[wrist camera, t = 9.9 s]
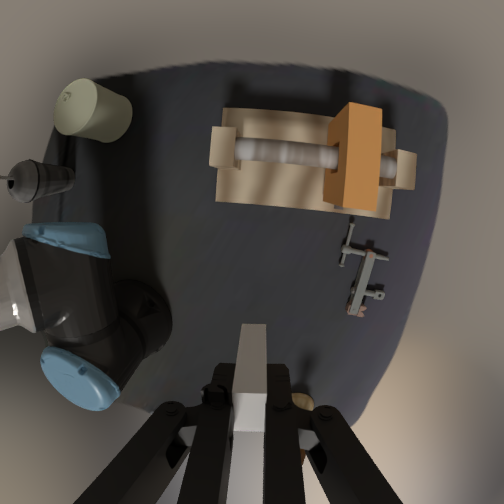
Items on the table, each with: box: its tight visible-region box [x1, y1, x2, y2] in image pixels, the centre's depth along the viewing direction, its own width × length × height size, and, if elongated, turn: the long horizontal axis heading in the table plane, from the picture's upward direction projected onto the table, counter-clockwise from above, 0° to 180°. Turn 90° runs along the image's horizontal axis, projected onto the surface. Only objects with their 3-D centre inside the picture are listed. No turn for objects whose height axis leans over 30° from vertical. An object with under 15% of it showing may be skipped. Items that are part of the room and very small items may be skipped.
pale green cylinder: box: [54, 78, 132, 143], centre depth 35 cm, size 9×9×12 cm
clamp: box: [339, 223, 389, 317], centre depth 44 cm, size 15×2×10 cm
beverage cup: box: [0, 159, 75, 203], centre depth 35 cm, size 7×7×20 cm
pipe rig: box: [209, 108, 417, 219], centre depth 37 cm, size 28×15×10 cm, turn 86°
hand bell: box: [292, 393, 314, 465], centre depth 44 cm, size 8×8×16 cm
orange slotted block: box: [323, 102, 382, 212], centre depth 33 cm, size 4×12×12 cm, turn 176°
